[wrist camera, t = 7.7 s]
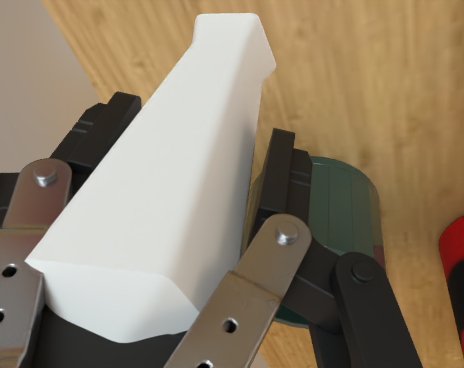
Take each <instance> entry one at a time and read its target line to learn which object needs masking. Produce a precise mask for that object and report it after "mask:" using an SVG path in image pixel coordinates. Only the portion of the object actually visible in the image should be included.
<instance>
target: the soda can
mask: <svg viewBox="0 0 464 368" xmlns="http://www.w3.org/2000/svg"><path fill="white" fill-rule="evenodd" d="M439 251H440V255H441V260H442V264H443V268H444V273H445V277H446V282H447V286H448V291H449V295H450V300H451V304H452V308H453V313H454V317H455V322H456V326H457V331H458V335H459V340H460V344H461V348H462V353H463V357H464V216H463V217H461V218H459V219H458V220H456V221H455V222H453V223H452V224H451V225H450V226H449V227H448V228H447V229H446V230H445V231H444V232H443V234H442V236H441V238H440V241H439Z"/></svg>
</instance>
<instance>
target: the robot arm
mask: <svg viewBox="0 0 464 368" xmlns="http://www.w3.org/2000/svg"><path fill="white" fill-rule="evenodd" d="M140 110H141V98H140V97H139V96H135V95H131V94H127V93H122V92H116V93H115V94H114V95H113V97H112V98H111V99H110V101H109V102H108V104H102V103H98V104H96V105H94V106H92V107H91V108H89V109H87V110H86V111H85V112H84V114H83V115H82V116H81V117H80V119H79V120H78V122H76V124H75V125H74V127H73V128H72V130H71V131H70V132H69V133H68V134H67V135H66V137H65V138H64V139H63V141H62V142H61V143H60V144H59V146H58V147H57V148H56V150H55V151H54V152H53V153H52V155H51V156H50V157H49V158H46V159H40V160H36V161H34V162H31V163H29V164H28V165H26V166H25V167H24V168H23V169H22V170H21V172H20V173H0V368H250V366H251V364H252V362H253V360H254V358H255V356H256V354H257V352H258V350H259V348H260V346H261V344H262V342H263V340H264V338H265V336H266V334H267V332H268V330H269V328H270V326H271V324H272V322H273V320H274V318H275V316H276V314H277V312H278V310H279V308H280V306H281V304H282V305H284V306H286V307H287V308H289V309H291V310H292V311H294V312H296V313H297V314H299V315H301V316H302V317H304V318H305V319H307V322H308V326H309V331H310V335H311V340H312V344H313V349H314V353H315V358H316V362H317V367H318V368H423V366H422V364H421V361H420V359H419V356H418V354H417V351H416V349H415V346H414V344H413V341H412V338H411V336H410V333H409V331H408V328H407V326H406V323H405V321H404V318H403V316H402V313H401V311H400V308H399V305H398V303H397V300H396V298H395V295H394V293H393V290H392V288H391V285H390V283H389V280H388V278H387V275H386V273H385V271H384V269H383V267H382V266H381V265H380V264H379V263H378V262H377V261H376V260H375V259H373V258H372V257H370V256H368V255H366V254H364V253H360V252H348V253H345V254H343V255H341V256H340V255H338V254H336V253H334V252H332V251H331V250H329V249H327V248H325V247H324V246H322V245H321V244H320V243H319V242H318V241H317V240H316V239H315V238H314V237H313V235H312V234H311V232H310V229H309V226H308V218H309V204H310V191H311V176H312V165H313V163H312V161H311V159H310V157H309V154H308V152H307V151H303V150H298V149H294V148H293V147H294V139H295V133H294V132H289V131H285V130H281V129H276V128H273V132H272V135H271V139H270V143H269V147H268V150H267V154H266V158H265V161H264V165H263V169H262V174H261V178H260V183H259V188H258V193H257V198H256V203H255V207H254V212H253V217H252V222H251V227H250V232H249V237H248V242H247V247H246V251H245V253H244V254H243V256H242V257H241V259H240V260H239V262H238V263H237V265H236V266H235V268H234V269H233V270H232V271H231V270H229V271H228V272H227V273H226V274H225V276H224V277H223V278H222V280H221V281H220V283H219V284H218V286H217V287H216V289H215V290H214V292H213V293H212V295H211V296H210V298H209V299H208V301H207V302H206V304H205V305H204V307H203V308H202V310H201V312H200V313H199V315H198V316H197V318H196V319H195V321H194V322H193V324H192V325H191V327H190V328H189V330H187V331H183V332H180V333H177V334H173V335H172V334H164V335H159V336H155V337H150V338H146V339H143V340H139V341H135V342H130V343H118V342H115V341H111V340H109V339H107V338H105V337H102V336H100V335H98V334H96V333H93V332H91V331H89V330H87V329H84V328H82V327H80V326H78V325H76V324H73V323H71V322H69V321H67V320H65V319H63V318H62V317H60V316H58V315H57V314H56V313H54V312H53V311H52V310H50V308H49V307H48V306H47V305H46V304H45V301H46V300H45V291H44V273H43V272H40V271H39V270H37V269H35V268H33V267H31V266H30V265H29V264H28V263H26V262H25V260H26V258H27V257H28V256H29V255H30V253H31V252H32V251H33V249H34V248H35V247H36V246H37V244H38V243H39V242H40V241H41V239H42V238H43V237H44V235H45V234H46V233H47V231H48V229H49V228H50V227H51V225H52V224H53V223H54V222H55V220H56V219H57V218H58V216H59V215H60V214H61V213H62V211H63V210H64V209H65V207H66V206H67V205H68V203H69V202H70V201H71V200H72V198H73V197H74V196H75V194H76V193H77V192H78V191H79V189H80V188H81V187H82V185H83V184H84V183H85V182H86V180H87V179H88V178H89V176H90V175H91V174H92V172H93V171H94V170H95V169H96V167H97V166H98V165H99V163H100V162H101V161H102V160H103V158H104V157H105V156H106V154H107V153H108V152H109V151H110V149H111V148H112V147H113V145H114V144H115V143H116V141H117V140H118V139H119V138H120V136H121V135H122V134H123V132H124V131H125V130H126V129H127V127H128V126H129V125H130V123H131V122H132V121H133V119H134V118H135V117H136V116H137V114H138V113H139V112H140Z"/></svg>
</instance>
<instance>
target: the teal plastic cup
mask: <svg viewBox="0 0 464 368" xmlns="http://www.w3.org/2000/svg"><path fill="white" fill-rule="evenodd" d="M310 159H311V161H312V163H313V165H312V176H311V191H310V204H309V218H308V226H309V229H310V232H311V234H312V235H313V237H314V238H315V239H316V240H317V241H318V242H319V243H320V244H321V245H322V246H324V247H325V248H327V249H329V250H331V251H332V252H334V253H336V254H338V255H340V256H341V255H343V254H345V253H348V252H360V253H364V254H366V255H368V256H370V257H372V258H373V259H375V260H376V261H377V262H378V263H379V264H380V265H381V266H382V267H383V269H384V271H385V273H386V275H387V278H388V269H387V260H386V251H385V242H384V233H383V223H382V214H381V208H380V202H379V196H378V192H377V190H376V188H375V186H374V185H373V183H372V182H371V181H370V179H369V178H368V177H367V176H366V175H364V174H363V173H362V172H361V171H359V170H358V169H356V168H354V167H352V166H351V165H348V164H346V163H344V162H341V161H337V160H334V159H329V158H324V157H310ZM260 178H261V174H260V175H259V177H258V178H257V179H256V180H255V182H254V184H253V185H252V188H251V190H250V195H249V198H248V203H247V211H246V219H245V227H244V235H243V243H242V251H241V257H242V256H243V254H244V253H245V251H246V247H247V242H248V237H249V232H250V227H251V222H252V217H253V212H254V207H255V203H256V198H257V193H258V188H259V183H260ZM388 280H389V278H388ZM273 321H275V322H278V323H282V324H285V325H289V326H292V327H298V328H306V329H309V326H308V322H307V319H305V318H304V317H302V316H301V315H299V314H297V313H296V312H294V311H292V310H291V309H289V308H287V307H286V306H284V305H282V304H281V306H280V308H279V310H278V312H277V314H276V316H275V318H274V320H273Z"/></svg>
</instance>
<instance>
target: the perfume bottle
mask: <svg viewBox="0 0 464 368" xmlns="http://www.w3.org/2000/svg"><path fill="white" fill-rule="evenodd" d="M275 69H276V62H275V59H274V57H273V54H272V51H271V48H270V46H269V43H268V40H267V38H266V35H265V32H264V29H263V27H262V24H261V21H260V19H259V17H258V16H257V15H256V14H253V13H229V14H200V15H198V16H197V17H196V20H195V26H194V32H193V38H192V45H191V46H190V47H189V48H188V50H187V51H186V52H185V54H184V55H183V56H182V57H181V59H180V60H179V61H178V63H177V64H176V65H175V66H174V68H173V69H172V70H171V72H170V73H169V74H168V76H167V77H166V78H165V79H164V81H163V82H162V83H161V85H160V86H159V87H158V88H157V90H156V91H155V92H154V94H153V95H152V96H151V98H150V99H149V100H148V101H147V103H146V104H145V105H144V107H143V108H142V109H141V110H140V112H139V113H138V114H137V116H136V117H135V118H134V119H133V121H132V122H131V123H130V125H129V126H128V127H127V129H126V130H125V131H124V132H123V134H122V135H121V136H120V138H119V139H118V140H117V141H116V143H115V144H114V145H113V147H112V148H111V149H110V151H109V152H108V153H107V154H106V156H105V157H104V158H103V160H102V161H101V162H100V163H99V165H98V166H97V167H96V169H95V170H94V171H93V172H92V174H91V175H90V176H89V178H88V179H87V180H86V182H85V183H84V184H83V185H82V187H81V188H80V189H79V191H78V192H77V193H76V194H75V196H74V197H73V198H72V200H71V201H70V202H69V203H68V205H67V206H66V207H65V209H64V210H63V211H62V213H61V214H60V215H59V216H58V218H57V219H56V220H55V222H54V223H53V224H52V225H51V227H50V228H49V229H48V231H47V233H46V234H45V235H44V237H43V238H42V239H41V241H40V242H39V243H38V244H37V246H36V247H35V248H34V249H33V251H32V252H31V253H30V255H29V256H28V257H27V258H26V260H25V262H26V263H28V264H29V265H30V266H31V267H33V268H35V269H37V270H39V271H40V272H43V273H44V291H45V300H46V301H45V304H46V305H47V306H48V307H49V308H50V310H52V311H53V312H54V313H56V314H57V315H58V316H60V317H62V318H63V319H65V320H67V321H69V322H71V323H73V324H76V325H78V326H80V327H82V328H84V329H87V330H89V331H91V332H93V333H96V334H98V335H100V336H102V337H105V338H107V339H109V340H111V341H115V342H118V343H130V342H135V341H139V340H143V339H146V338H150V337H155V336H159V335H164V334H172V335H173V334H177V333H180V332H183V331H187V330H189V328H190V327H191V325H192V324H193V322H194V321H195V319H196V318H197V316H198V315H199V313H200V312H201V310H202V308H203V307H204V305H205V304H206V302H207V301H208V299H209V298H210V296H211V295H212V293H213V292H214V290H215V289H216V287H217V286H218V284H219V283H220V281H221V280H222V278H223V277H224V276H225V274H226V273H227V272H228V271H229V270H231V271H232V270H233V269H234V268H235V266H236V265H237V263H238V262H239V260H240V259H241V251H242V243H243V235H244V227H245V219H246V211H247V203H248V195H249V187H250V179H251V171H252V163H253V155H254V147H255V139H256V131H257V123H258V115H259V107H260V99H261V91H262V84H263V83H264V82H265V81H266V80H267V79H268V77H269V76H270V75H271V74H272V73H273V72H274V70H275Z"/></svg>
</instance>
